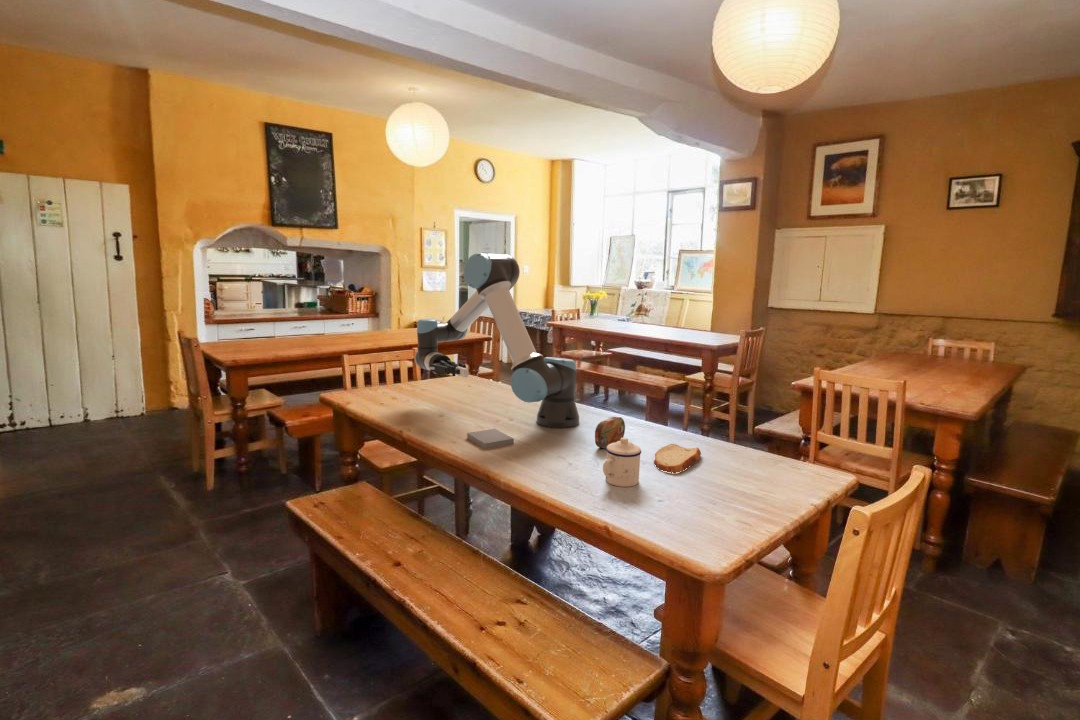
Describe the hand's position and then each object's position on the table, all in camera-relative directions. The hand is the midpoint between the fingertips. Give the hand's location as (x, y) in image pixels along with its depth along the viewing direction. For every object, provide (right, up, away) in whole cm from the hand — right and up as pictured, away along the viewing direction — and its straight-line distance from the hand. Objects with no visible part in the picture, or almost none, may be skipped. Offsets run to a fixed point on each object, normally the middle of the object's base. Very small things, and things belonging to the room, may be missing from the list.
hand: (466, 373), depth 188 cm
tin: (+47, -22, -12) cm, 53 cm away
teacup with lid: (+45, -28, -42) cm, 68 cm away
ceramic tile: (+6, -19, -7) cm, 21 cm away
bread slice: (+65, -26, -25) cm, 74 cm away
